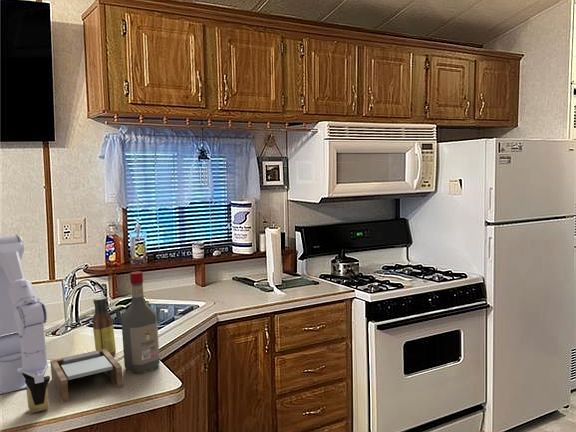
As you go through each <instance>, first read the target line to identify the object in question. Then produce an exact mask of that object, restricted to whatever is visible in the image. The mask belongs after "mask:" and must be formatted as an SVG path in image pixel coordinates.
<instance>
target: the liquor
mask: <svg viewBox="0 0 576 432" xmlns="http://www.w3.org/2000/svg"><path fill="white" fill-rule="evenodd" d="M129 275H130V277H129V278H130V285H131V287H130V289H131V302H130V303H131V304H130V305H129V306H128V308H127V309H126V310H125V311H124V313H123V314H122V316H121V319H120V320H121V333H122V334H121V335H122V350H123V362H124V368H125V370H127V371H129V372H131V373H133V374H144V373H146V372H150V371H153V370H155V369H157V368H158V366H159V365H160V363H161V362H160V361H161V360H160V359H161V358H160V346H159V331H158V316H157V313H156V312H155V310H154V309H153V308H151V307H150V306H149V305H148V304H147V303H146V300H145V298H144V295H145V294H144V285H143V283H144V275H143V271H141V270H139V271H131V272H130V273H129Z"/></svg>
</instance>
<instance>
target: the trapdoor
mask: <svg viewBox="0 0 576 432" xmlns="http://www.w3.org/2000/svg"><path fill="white" fill-rule="evenodd" d="M61 358H62V359H63V365H61V369H62V371H63V372H64V374H65V376H66V378H67V381H70V380H74V379H79V378H83V377H86V376H91V375H95V374H99V373H105V371H109V370H113V366H112V365H111V364H110V362H109V361H108V360H107V359H106V358H105V356H101V357H100V353H99V352H98V350H97V351H96V350H92V351H90V352H84V353H79V354H74V355H70V356H69V355H68V356H66V357H61Z"/></svg>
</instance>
